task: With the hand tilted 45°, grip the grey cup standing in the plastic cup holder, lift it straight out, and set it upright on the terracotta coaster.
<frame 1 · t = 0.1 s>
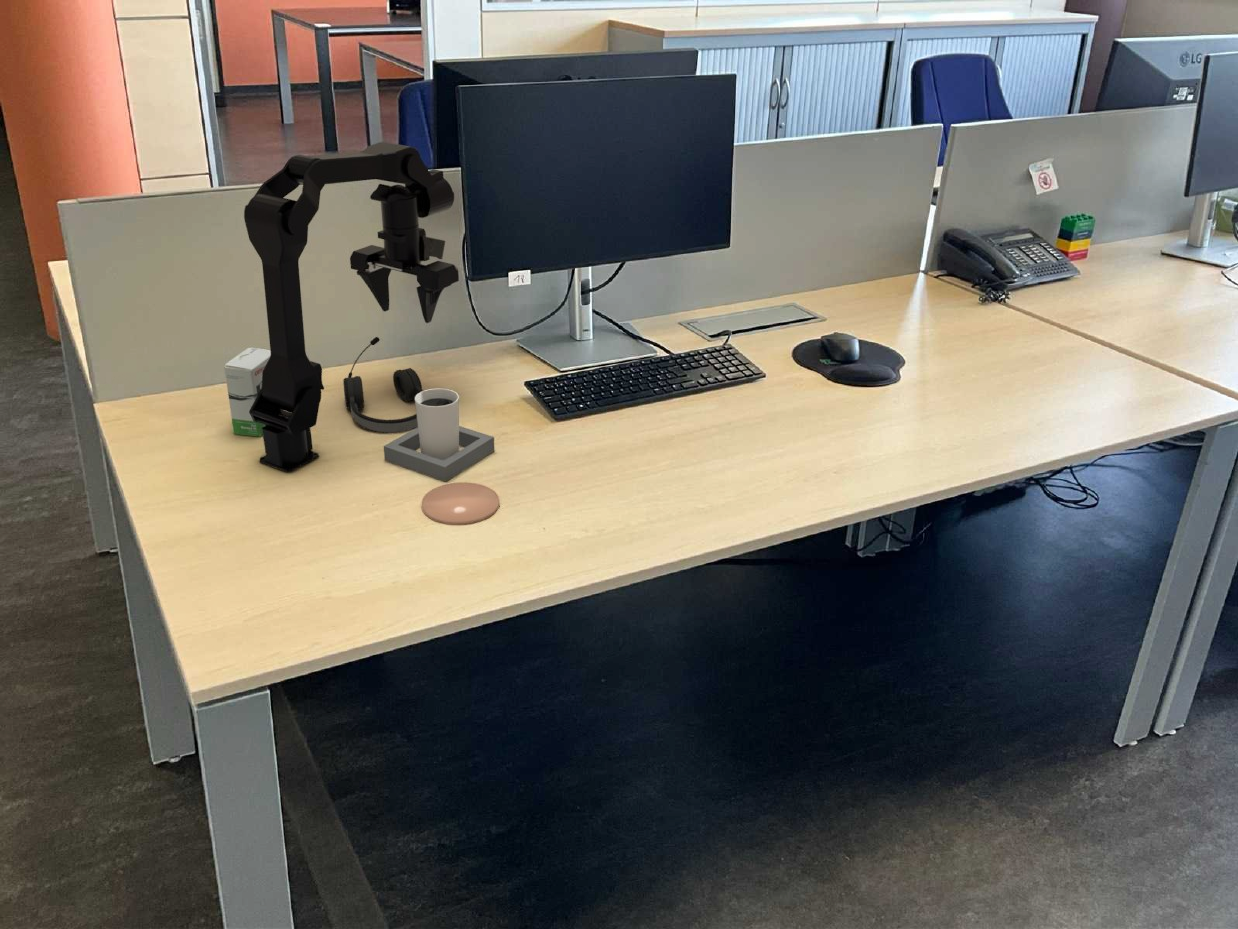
hand: (406, 316, 181), 15 cm above the table, tool pointing down, fingers open, 9 cm apart
cup holder: (440, 455, 169), on the table
coaster: (460, 504, 156), on the table
ink box: (260, 425, 177), on the table
grey cup: (440, 456, 169), resting in cup holder
headset: (387, 412, 183), on the table
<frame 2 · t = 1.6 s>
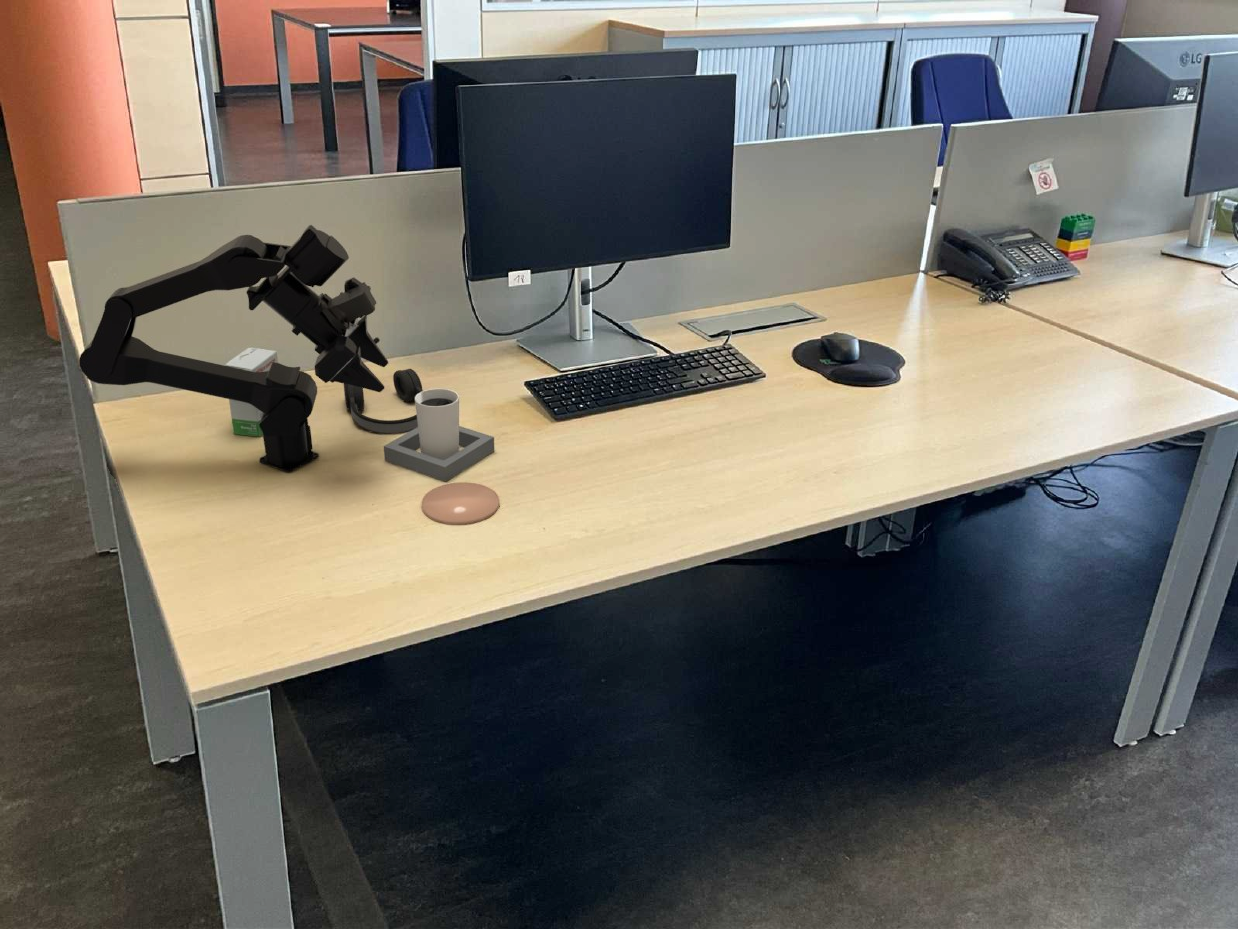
hand: (384, 376, 162), 13 cm above the table, tool tilted 45°, fingers open, 9 cm apart
nothing on the table moved.
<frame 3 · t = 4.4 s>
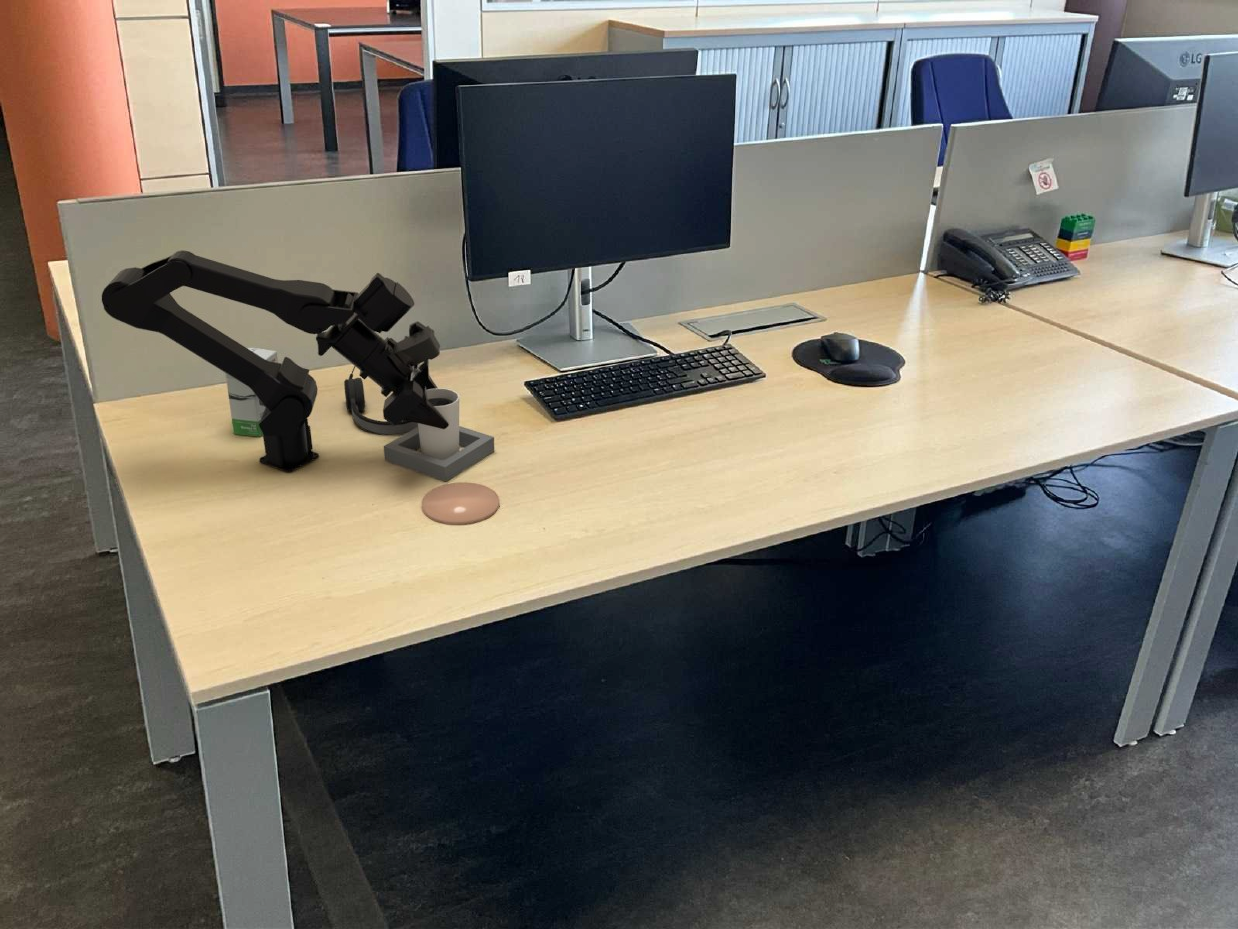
hand: (447, 417, 166), 7 cm above the table, tool tilted 45°, fingers closed on grey cup, 6 cm apart
grey cup: (440, 456, 169), resting in cup holder, touching gripper
everything else where it was.
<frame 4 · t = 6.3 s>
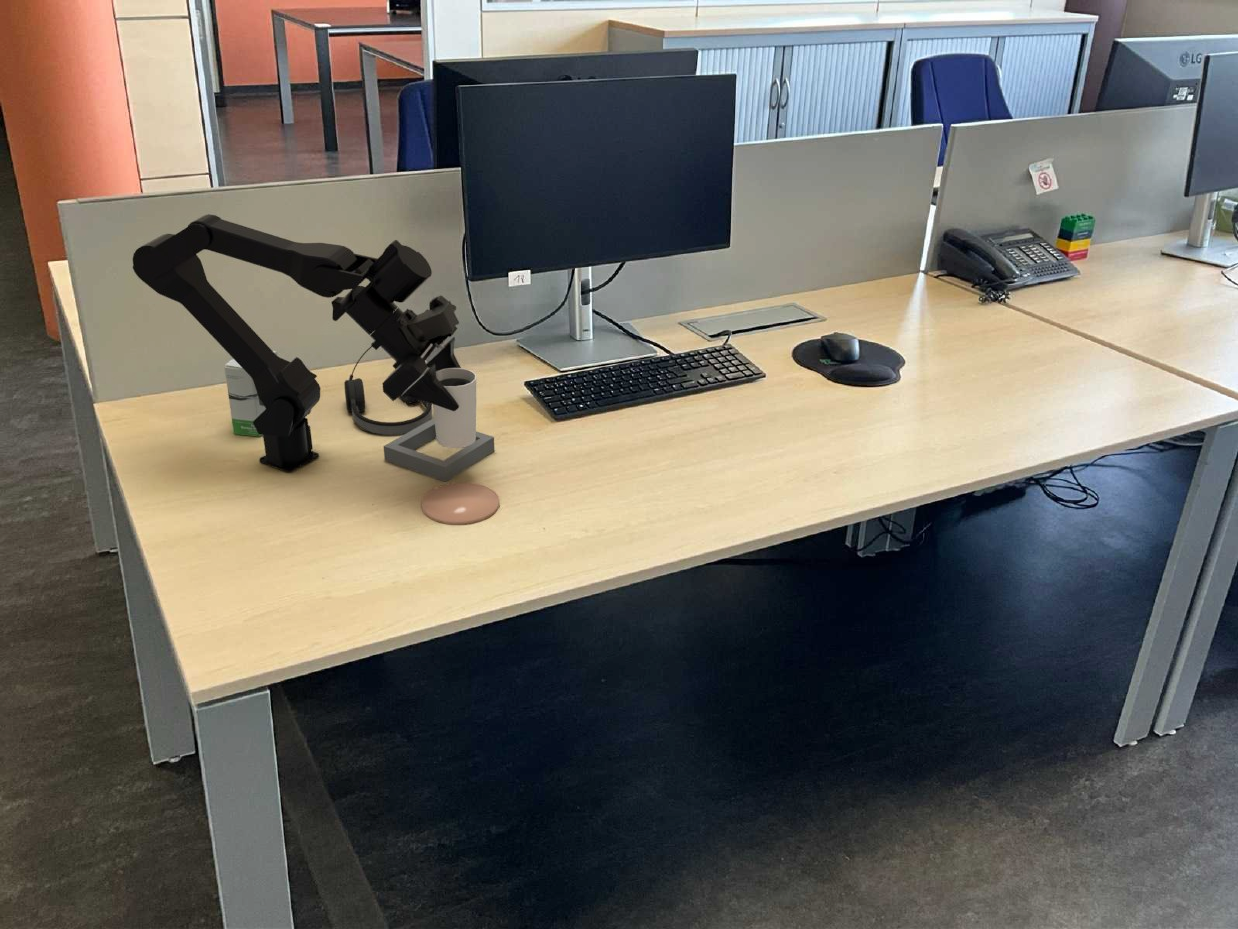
hand: (463, 399, 157), 13 cm above the table, tool tilted 45°, fingers closed on grey cup, 6 cm apart
grey cup: (456, 440, 160), point 6 cm above the table, touching gripper
everything else where it was.
when the fingers open (8 cm above the table, at t = 8.3 s): grey cup drops 1 cm, resting on coaster.
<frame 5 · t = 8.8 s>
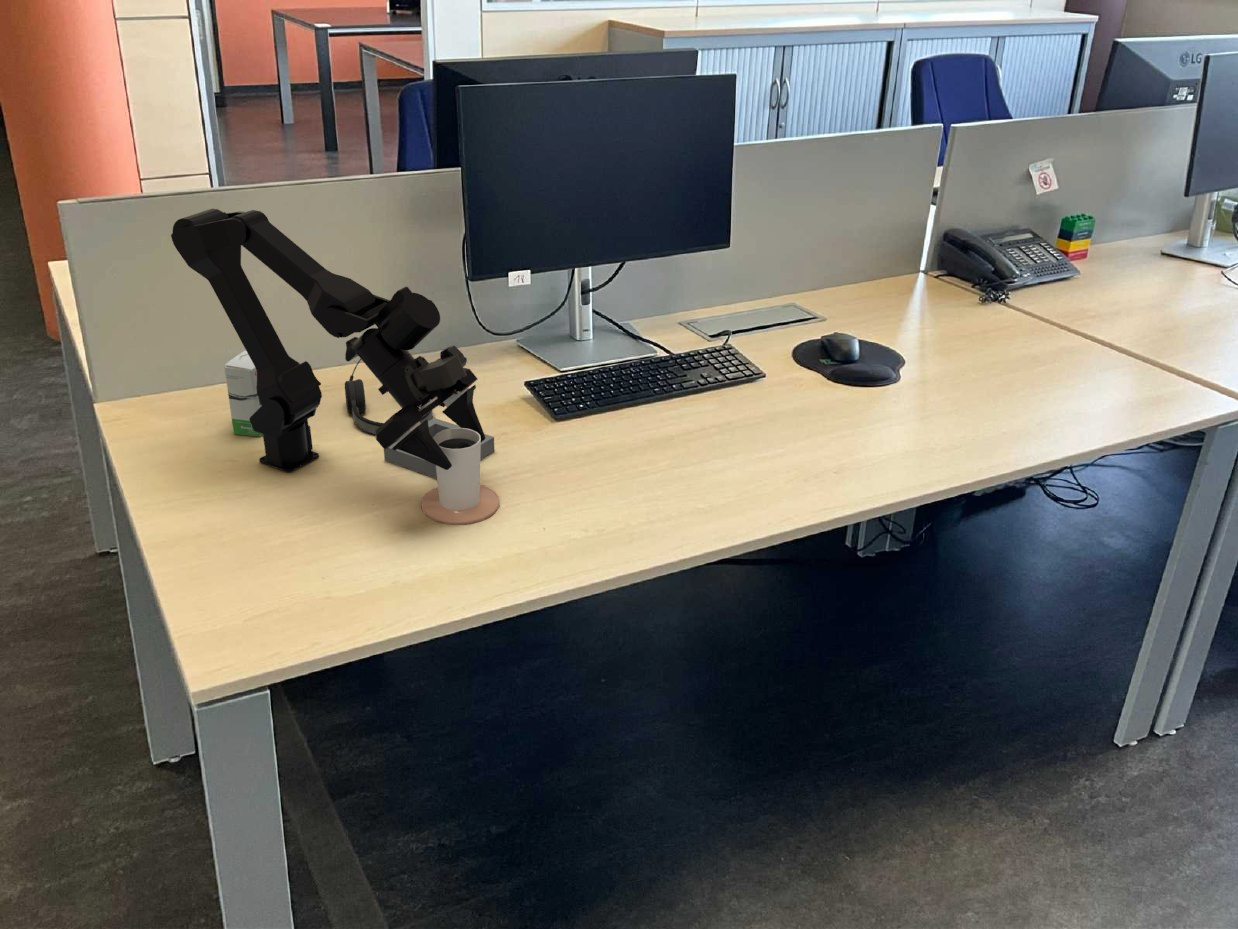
hand: (466, 454, 151), 9 cm above the table, tool tilted 45°, fingers open, 9 cm apart
grey cup: (459, 501, 156), resting on coaster
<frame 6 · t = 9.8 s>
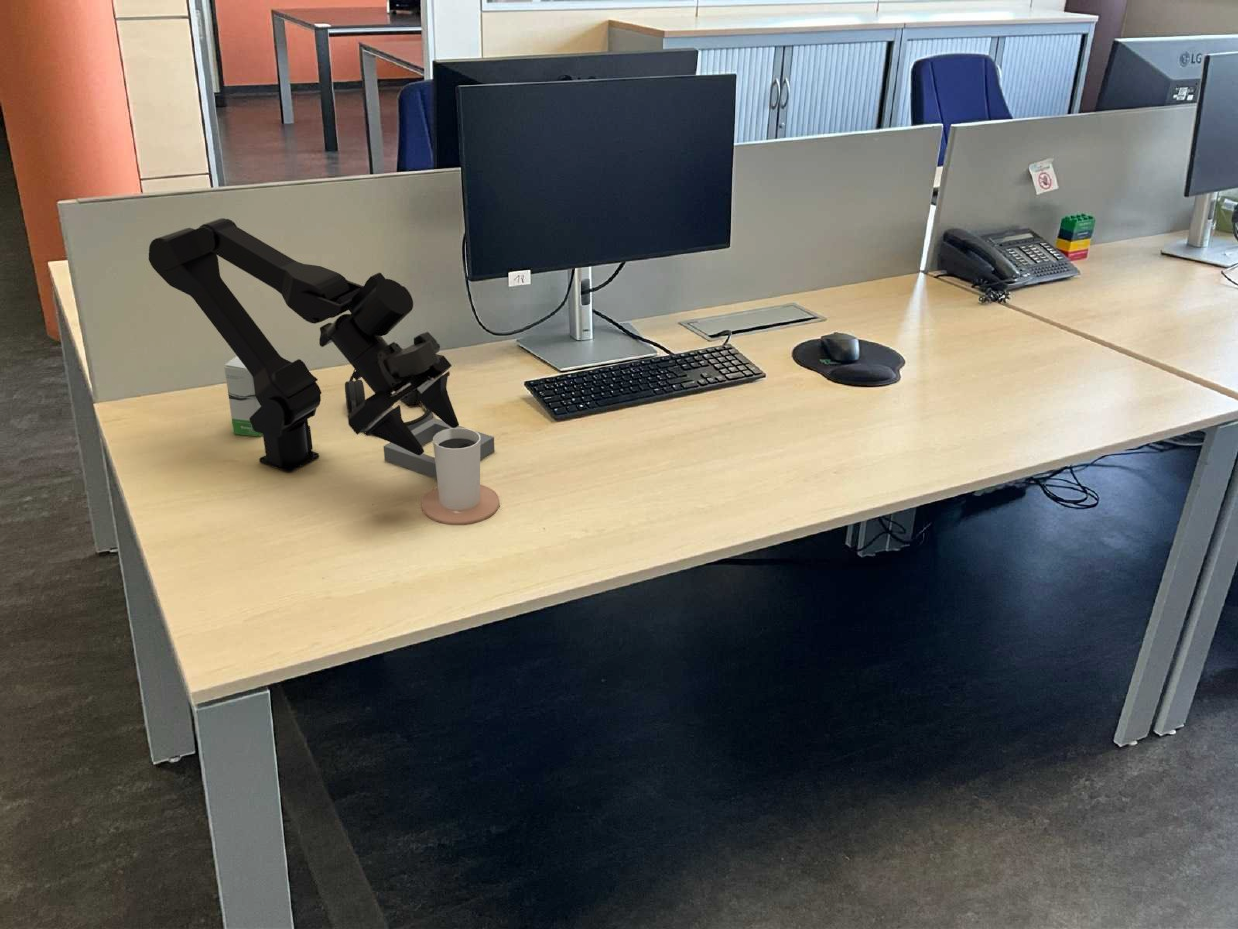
hand: (439, 440, 152), 10 cm above the table, tool tilted 45°, fingers open, 9 cm apart
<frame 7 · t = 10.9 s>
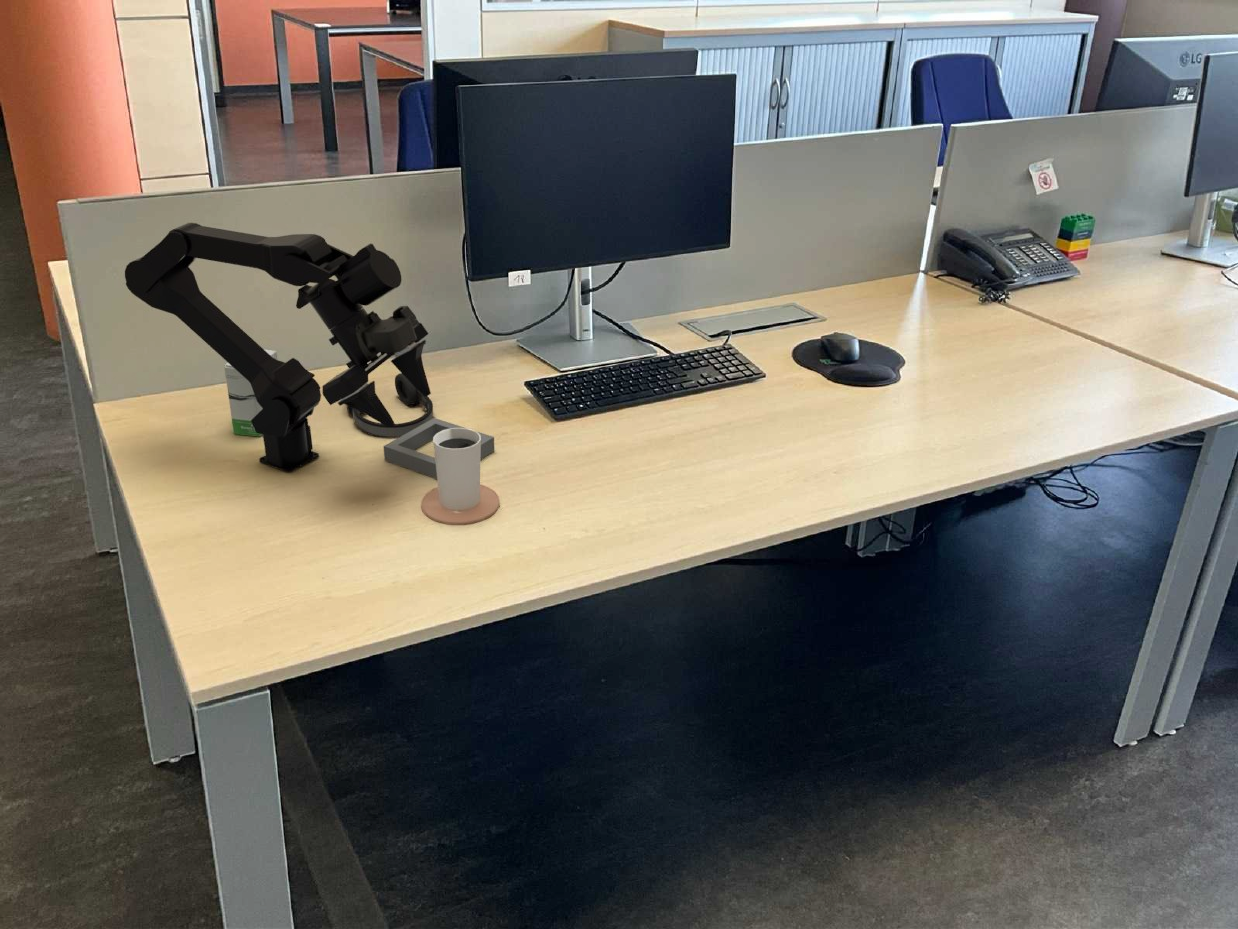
hand: (410, 410, 156), 12 cm above the table, tool tilted 35°, fingers open, 9 cm apart
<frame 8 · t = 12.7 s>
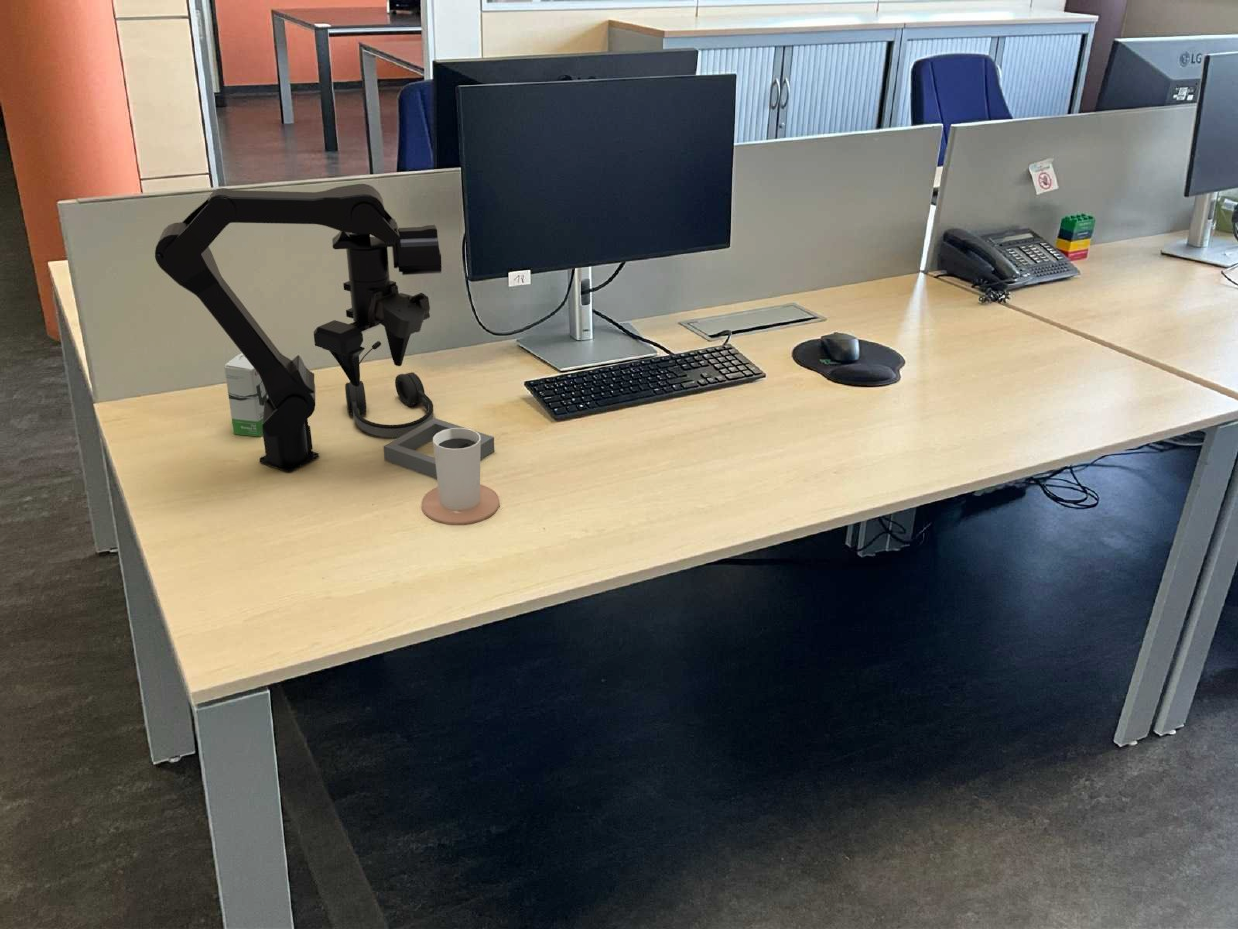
hand: (377, 375, 163), 13 cm above the table, tool pointing down, fingers open, 9 cm apart
at the end: grey cup 0.2 cm off-centre on the coaster, point 0.4 cm above the coaster's base; grey cup tilted 0°; the gripper is holding nothing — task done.
